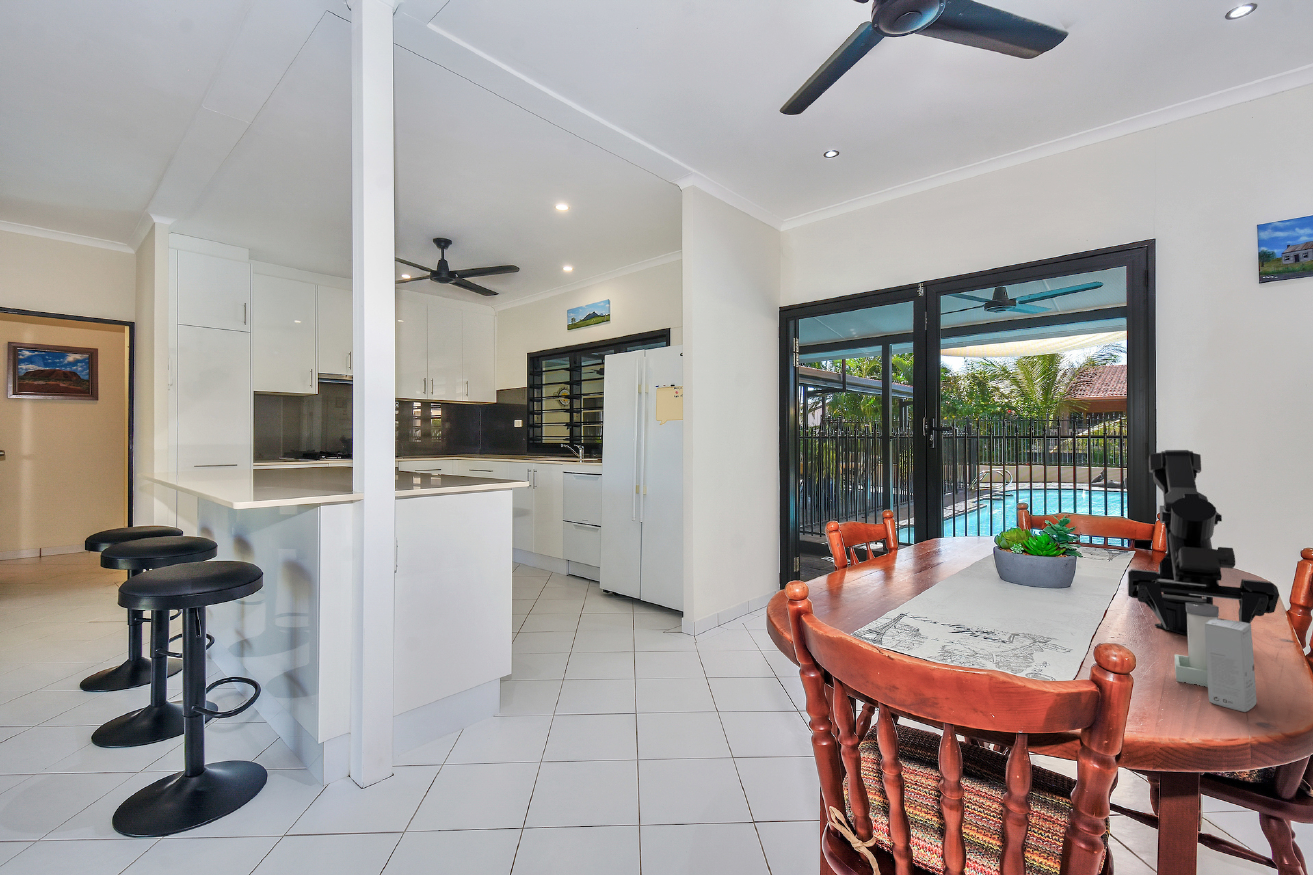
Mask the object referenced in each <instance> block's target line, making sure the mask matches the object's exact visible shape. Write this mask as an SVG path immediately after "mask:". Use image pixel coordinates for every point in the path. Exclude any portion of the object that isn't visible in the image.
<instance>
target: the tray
mask: <svg viewBox="0 0 1313 875" xmlns="http://www.w3.org/2000/svg"><path fill="white" fill-rule="evenodd" d="M1174 671H1175V679H1176V682H1180V683H1184V682H1186V683H1185V684H1190V685H1194V684H1197V685H1196V686H1199V685H1200V687H1204V686H1205V688H1208V678H1207V671H1205V670H1200V669H1194V668H1189V656H1188V655H1183V654H1176V653H1174Z"/></svg>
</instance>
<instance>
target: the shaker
mask: <svg viewBox="0 0 1313 875" xmlns="http://www.w3.org/2000/svg"><path fill="white" fill-rule="evenodd" d="M1186 612H1187V630H1188V635H1187V647H1188V648H1187V649H1188V650H1187V652H1188V655H1187V656H1188V657H1189V668H1194V669H1200V670H1205V671H1207V659H1206V642H1205V623H1207V622H1209V620H1213V619H1215V618H1219V617H1220V609H1219V606H1218V605H1216V604H1213V605H1212V604H1207V603H1200V602H1186Z"/></svg>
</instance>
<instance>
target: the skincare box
mask: <svg viewBox="0 0 1313 875" xmlns="http://www.w3.org/2000/svg"><path fill="white" fill-rule="evenodd" d="M1205 642H1206V659H1207V678H1208V687H1207V692H1208V693H1207V694H1208V701H1209V703H1211V704H1213V705H1217V706H1220V707H1222V708H1223V707H1224V708H1227V709H1231V710H1234V711H1239V712H1242V713H1243V712H1244V713H1246V712H1249V711H1250V710H1251V709H1253V708H1254V707H1255V705H1256V704H1257V691H1256V690H1257V688H1256V672H1255V660H1254V659H1255V658H1254V648H1253V647H1254V646H1253V634H1252V624H1251V623H1245V622H1239V620H1232V619H1226V618H1225V619H1224V618H1219V617H1218V618H1215V619H1213V620H1209V622H1207V623H1205Z"/></svg>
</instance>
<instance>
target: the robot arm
mask: <svg viewBox="0 0 1313 875" xmlns="http://www.w3.org/2000/svg"><path fill="white" fill-rule="evenodd" d="M1148 472H1149V473H1152V476H1153V482H1154V484H1155V485H1156V486H1157V487H1158V488H1159V489H1160V490H1161V492H1162V494H1163V495H1162V496H1163V505H1159V524H1164V528H1165V544H1166V554H1165V555H1164V556H1163V558H1162V559H1161V560H1160V562H1159V565H1158V571H1156V570H1146V569H1137V568H1132V569H1130V570H1129V571H1128V572H1127V594H1128V595H1127V596H1128V597H1130V598H1132V599H1137V601H1138V602H1140V603H1143V604H1145V605H1146V606H1147V607H1148V608H1149V609H1150V610H1151V611H1152V612H1153V613H1154V615H1155V616H1156V618H1157V619H1158V620H1159V622H1160V623H1159V622H1158V623H1154V627H1156V628H1159V629H1164V630H1167V631H1170V632H1173V633H1177V634H1181V635H1184V636H1188V630H1187V612H1186V602H1200V603H1207V604H1212V605H1214V598H1217V599H1226V600H1227V599H1228V600H1236V601H1238V605H1239V608H1238V621H1239V622H1245V623H1250V624H1251V623H1252V622H1253V620H1254V619H1255V617H1263V616H1264V615H1265V614H1272V613H1275V611H1276V608H1277V604H1278V601H1279V597H1280V593H1279V589H1278V586H1277V585H1275V584H1274V583H1273V582H1271V581H1265V580H1255V579H1246V578H1245V579H1243V578H1241V581H1240V585H1239V587H1238V586H1237V587H1236V586H1230V585H1229V586H1228V585H1220V582H1221V581H1222V578H1223V577H1222V576H1223V575H1222V570H1221V569H1234V568H1235V566H1236V556H1235V552H1234V547H1226V546H1225V547H1223V546H1218V547H1217V549H1215V548H1213V547H1212V540H1211V539H1212V537H1213V536H1214V531H1215V527H1216V526H1217V525H1218V524H1219V522H1222V521H1223V519H1222V514H1220V513H1219V512H1218V511H1217V507H1216V506H1214V504H1213V503H1211V502H1210V501H1209V499H1208V497H1207V496H1206V495H1204V494H1202V493H1201V492H1199V491H1198V489H1197V485H1196V479H1197V474H1200V473H1201V472H1202V458H1201V454H1198V453H1194V451H1193V450H1191V451H1190V450H1189V449H1165V450H1164V451H1163V450H1162V451H1160V452H1155V453H1152V454H1149V457H1148ZM1219 581H1220V582H1219Z"/></svg>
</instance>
